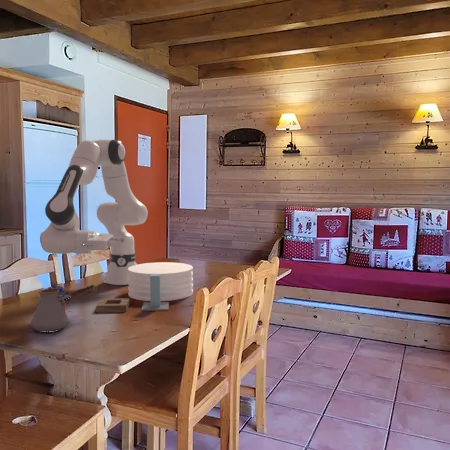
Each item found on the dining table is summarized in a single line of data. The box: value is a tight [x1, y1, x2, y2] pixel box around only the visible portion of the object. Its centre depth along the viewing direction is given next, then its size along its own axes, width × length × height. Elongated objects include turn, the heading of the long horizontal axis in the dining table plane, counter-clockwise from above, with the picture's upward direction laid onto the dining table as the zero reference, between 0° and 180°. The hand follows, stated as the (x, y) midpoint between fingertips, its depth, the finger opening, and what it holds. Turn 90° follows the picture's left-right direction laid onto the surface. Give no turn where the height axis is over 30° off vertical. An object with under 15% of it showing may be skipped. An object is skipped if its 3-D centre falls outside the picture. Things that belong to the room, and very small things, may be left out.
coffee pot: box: [30, 284, 97, 332], centre depth 149 cm, size 21×12×15 cm, turn 87°
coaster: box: [141, 301, 170, 312], centre depth 177 cm, size 10×10×1 cm
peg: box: [149, 274, 161, 307], centre depth 177 cm, size 4×4×12 cm
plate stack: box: [127, 261, 194, 302], centre depth 200 cm, size 28×28×12 cm
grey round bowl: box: [47, 285, 72, 301], centre depth 190 cm, size 12×12×5 cm
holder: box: [95, 297, 131, 313], centre depth 176 cm, size 11×11×2 cm
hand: (122, 241), depth 174 cm, fingers open, 8 cm apart
